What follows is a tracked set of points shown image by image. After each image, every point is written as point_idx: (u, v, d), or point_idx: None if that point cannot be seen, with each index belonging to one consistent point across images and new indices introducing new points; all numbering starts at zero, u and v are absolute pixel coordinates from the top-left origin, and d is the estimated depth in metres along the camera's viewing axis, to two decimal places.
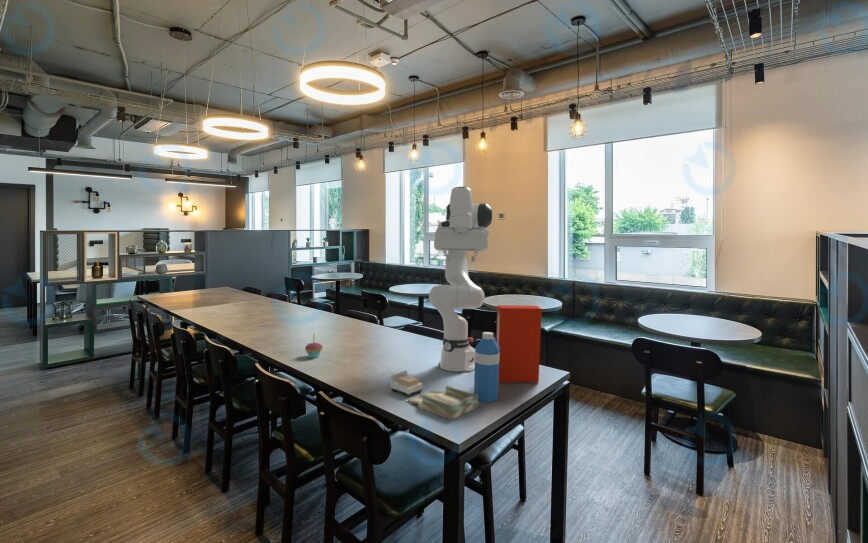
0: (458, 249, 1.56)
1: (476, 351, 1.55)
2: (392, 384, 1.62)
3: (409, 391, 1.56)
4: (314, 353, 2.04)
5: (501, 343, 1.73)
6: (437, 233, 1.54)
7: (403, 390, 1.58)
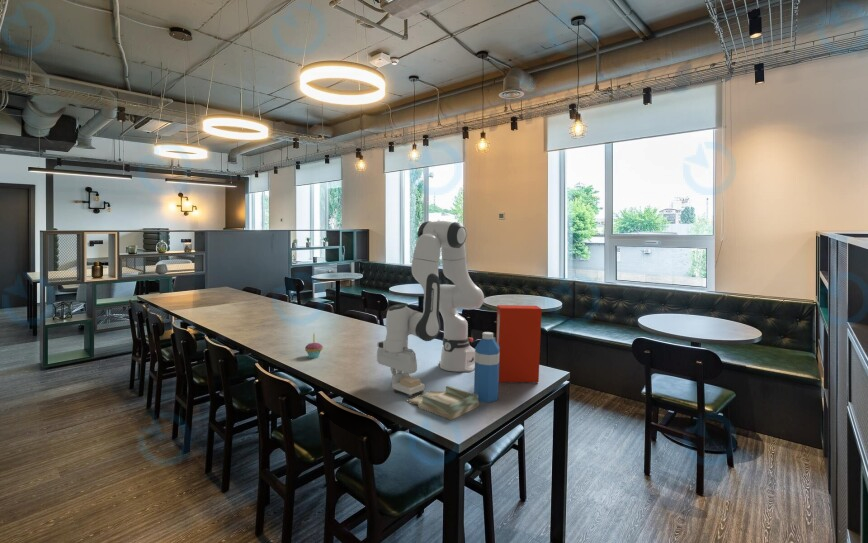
0: None
1: (476, 351, 1.55)
2: (394, 385, 1.61)
3: (411, 392, 1.55)
4: (314, 353, 2.04)
5: (501, 343, 1.73)
6: (377, 351, 1.69)
7: (405, 391, 1.57)
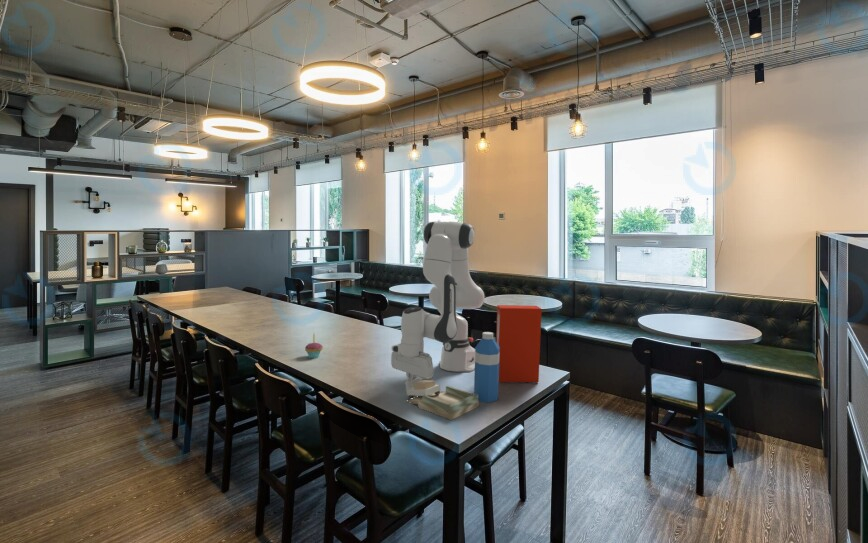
0: None
1: (476, 351, 1.55)
2: (408, 391, 1.55)
3: (426, 393, 1.49)
4: (314, 353, 2.04)
5: (501, 343, 1.73)
6: (392, 355, 1.64)
7: (420, 393, 1.50)
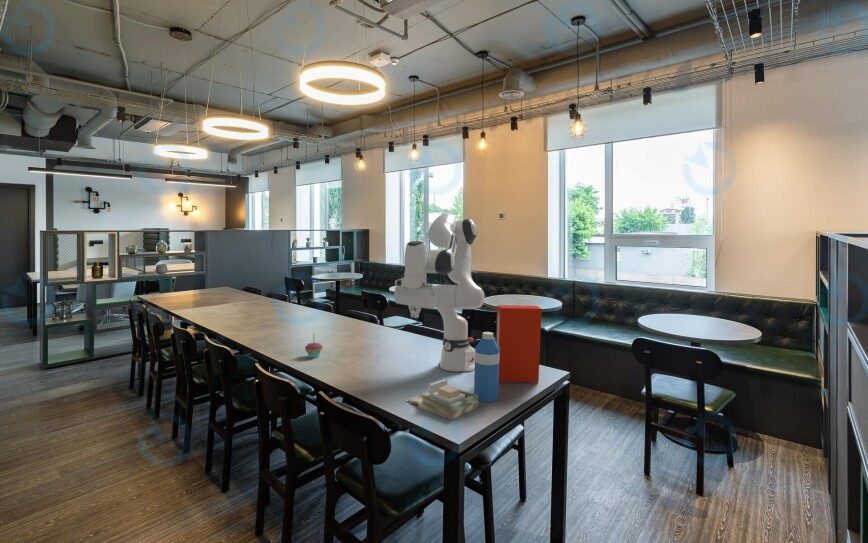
0: None
1: (476, 351, 1.55)
2: (431, 394, 1.47)
3: (450, 403, 1.41)
4: (314, 353, 2.04)
5: (501, 343, 1.73)
6: (395, 290, 1.66)
7: (443, 401, 1.42)
